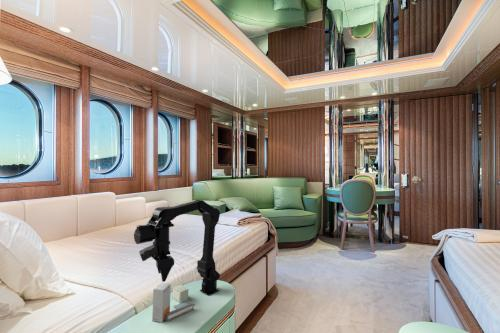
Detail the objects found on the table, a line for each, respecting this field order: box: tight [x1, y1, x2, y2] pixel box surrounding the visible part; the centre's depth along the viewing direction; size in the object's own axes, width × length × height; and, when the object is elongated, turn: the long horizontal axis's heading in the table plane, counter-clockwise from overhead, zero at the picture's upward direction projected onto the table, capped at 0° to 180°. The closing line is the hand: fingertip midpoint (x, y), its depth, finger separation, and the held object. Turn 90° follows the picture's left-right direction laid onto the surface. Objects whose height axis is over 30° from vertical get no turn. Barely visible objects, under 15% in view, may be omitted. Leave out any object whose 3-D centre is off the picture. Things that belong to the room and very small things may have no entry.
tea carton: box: [172, 284, 189, 304], centre depth 114 cm, size 4×6×5 cm
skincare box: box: [151, 282, 172, 323], centre depth 99 cm, size 6×4×12 cm
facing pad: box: [173, 299, 195, 310], centre depth 108 cm, size 7×5×1 cm
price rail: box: [164, 302, 195, 322], centre depth 101 cm, size 12×1×2 cm, turn 138°
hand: (161, 277), depth 104 cm, fingers open, 9 cm apart
